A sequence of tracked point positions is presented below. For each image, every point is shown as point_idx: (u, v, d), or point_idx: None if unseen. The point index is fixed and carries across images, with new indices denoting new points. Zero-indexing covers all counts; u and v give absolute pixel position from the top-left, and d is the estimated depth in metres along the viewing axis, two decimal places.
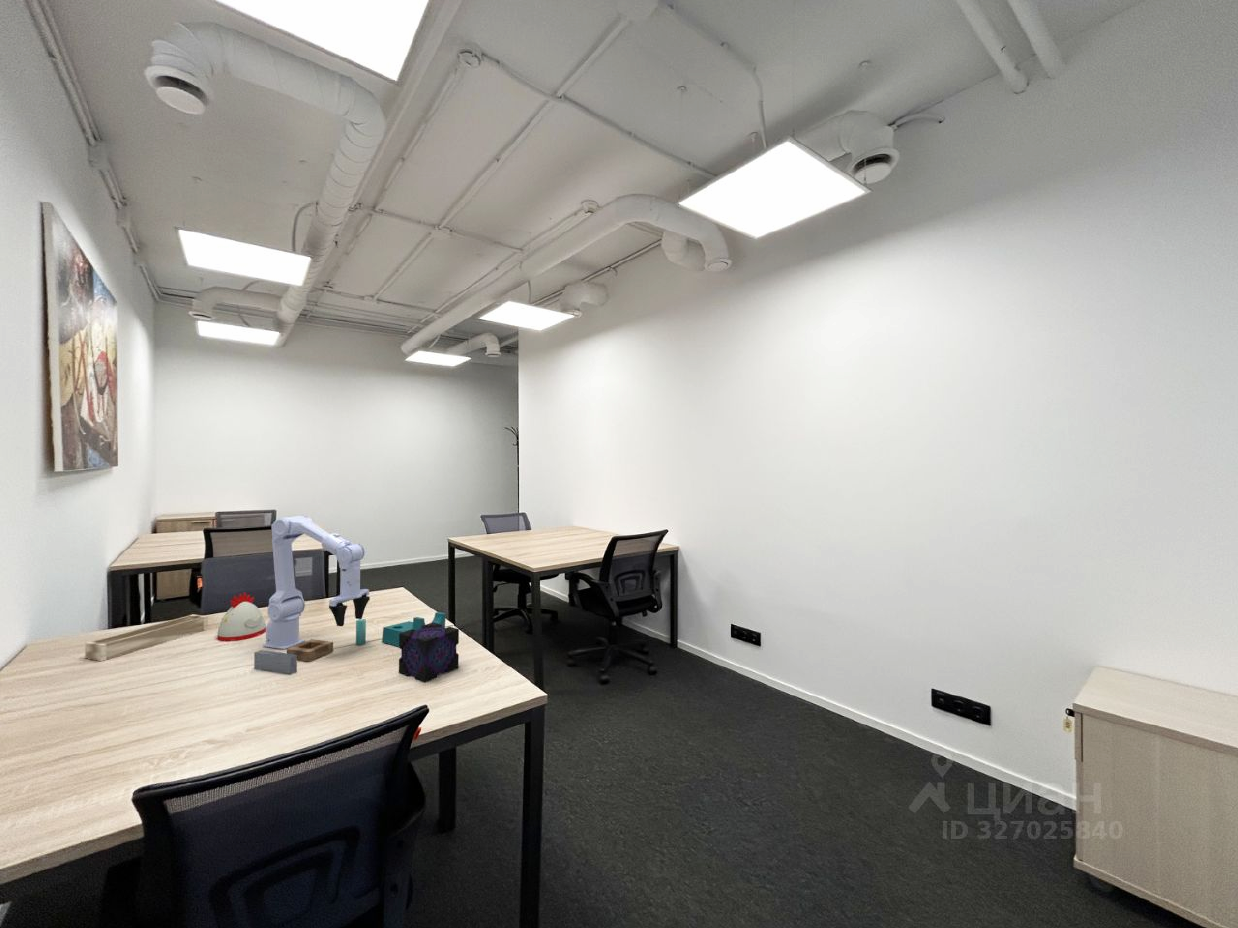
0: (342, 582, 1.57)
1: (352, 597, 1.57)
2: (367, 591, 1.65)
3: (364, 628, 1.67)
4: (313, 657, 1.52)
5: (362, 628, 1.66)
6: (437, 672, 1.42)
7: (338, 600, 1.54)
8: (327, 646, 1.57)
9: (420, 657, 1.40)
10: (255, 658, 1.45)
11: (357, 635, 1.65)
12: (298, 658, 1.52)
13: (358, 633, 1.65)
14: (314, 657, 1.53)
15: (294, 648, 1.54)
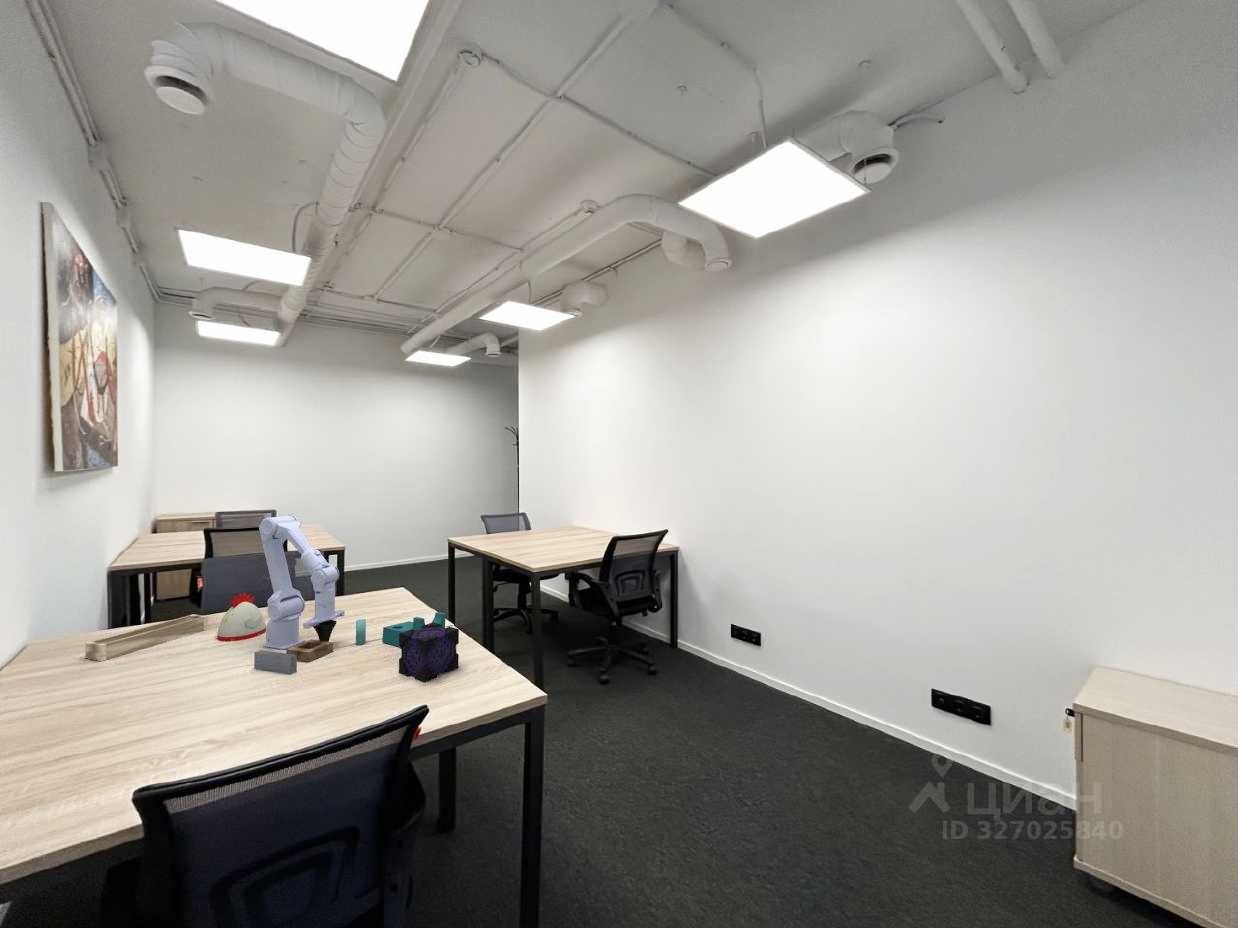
0: (316, 604, 1.59)
1: (326, 619, 1.59)
2: (342, 612, 1.67)
3: (364, 628, 1.67)
4: (312, 657, 1.52)
5: (362, 628, 1.66)
6: (437, 672, 1.42)
7: (312, 622, 1.56)
8: (327, 646, 1.57)
9: (420, 657, 1.40)
10: (255, 658, 1.45)
11: (357, 635, 1.65)
12: (297, 658, 1.52)
13: (358, 633, 1.65)
14: (313, 657, 1.52)
15: (294, 648, 1.53)
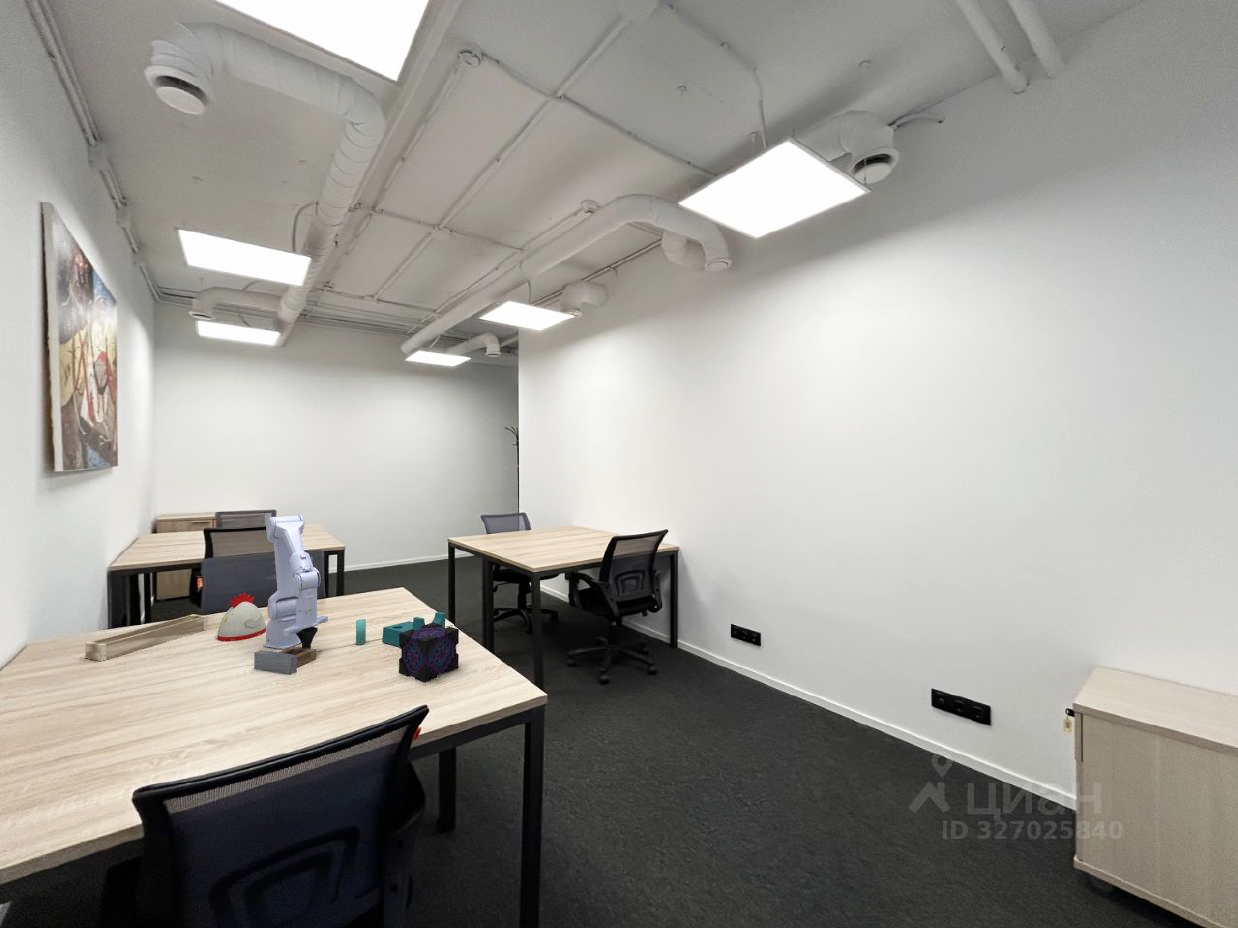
0: (297, 610, 1.52)
1: (308, 626, 1.52)
2: (325, 618, 1.61)
3: (364, 628, 1.67)
4: None
5: (362, 628, 1.66)
6: (437, 672, 1.42)
7: (292, 630, 1.49)
8: (310, 654, 1.51)
9: (420, 657, 1.40)
10: (255, 658, 1.45)
11: (357, 635, 1.65)
12: None
13: (358, 633, 1.65)
14: None
15: None
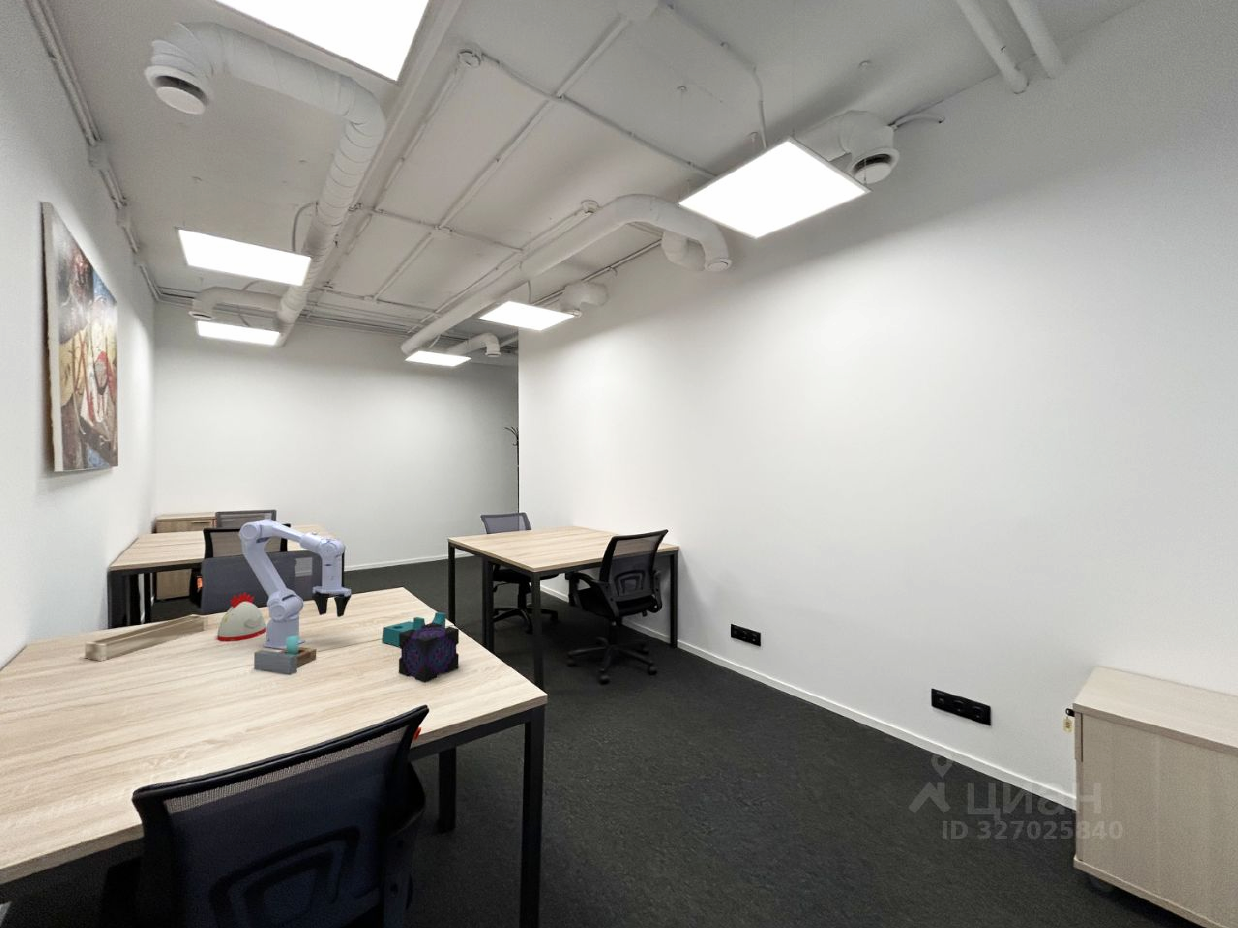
0: None
1: (321, 590, 1.64)
2: (344, 592, 1.64)
3: (296, 646, 1.50)
4: None
5: (293, 645, 1.49)
6: (437, 672, 1.42)
7: (315, 589, 1.67)
8: (310, 654, 1.51)
9: (420, 657, 1.40)
10: (255, 658, 1.45)
11: None
12: None
13: (288, 651, 1.49)
14: None
15: None
